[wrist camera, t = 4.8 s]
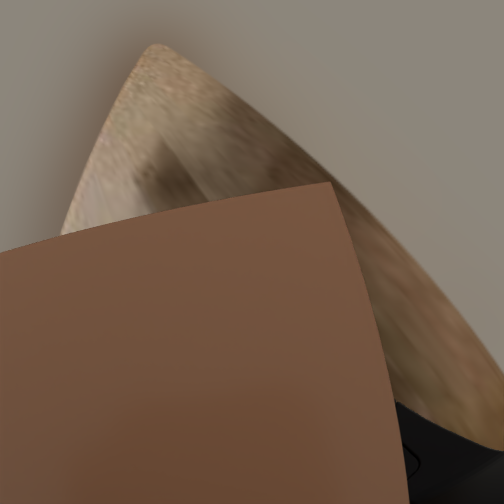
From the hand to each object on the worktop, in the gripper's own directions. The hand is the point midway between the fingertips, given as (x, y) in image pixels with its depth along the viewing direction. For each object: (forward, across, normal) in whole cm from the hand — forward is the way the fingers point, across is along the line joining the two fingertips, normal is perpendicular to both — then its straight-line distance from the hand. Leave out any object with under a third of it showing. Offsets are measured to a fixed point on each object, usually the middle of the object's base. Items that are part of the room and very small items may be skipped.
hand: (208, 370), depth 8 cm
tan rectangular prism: (+4, 0, +6) cm, 7 cm away
